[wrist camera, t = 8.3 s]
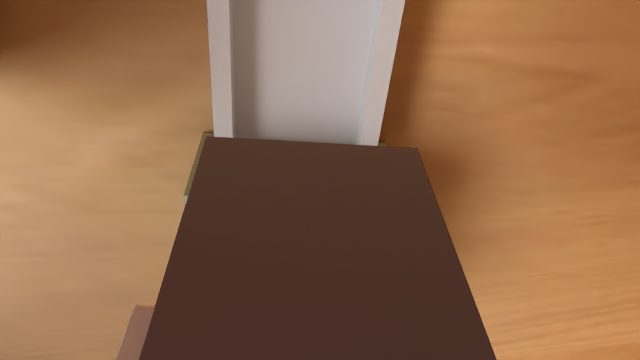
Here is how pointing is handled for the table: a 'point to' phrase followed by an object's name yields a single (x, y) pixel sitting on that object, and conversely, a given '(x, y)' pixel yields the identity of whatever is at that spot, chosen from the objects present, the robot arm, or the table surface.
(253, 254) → the tall grey rectangular block
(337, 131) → the green box with dome
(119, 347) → the robot arm
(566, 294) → the table surface
